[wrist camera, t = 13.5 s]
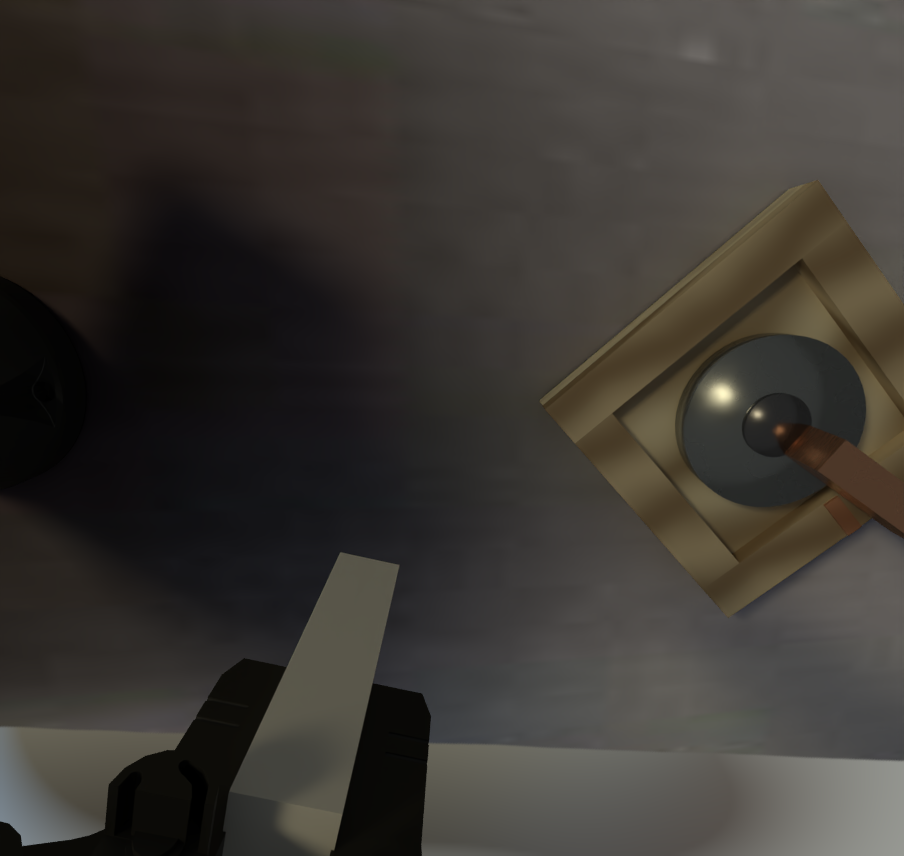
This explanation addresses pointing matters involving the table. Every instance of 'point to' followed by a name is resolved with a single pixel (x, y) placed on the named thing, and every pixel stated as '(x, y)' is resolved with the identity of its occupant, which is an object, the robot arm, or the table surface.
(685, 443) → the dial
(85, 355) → the table surface
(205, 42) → the table surface
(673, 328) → the panel
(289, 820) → the robot arm
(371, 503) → the table surface
